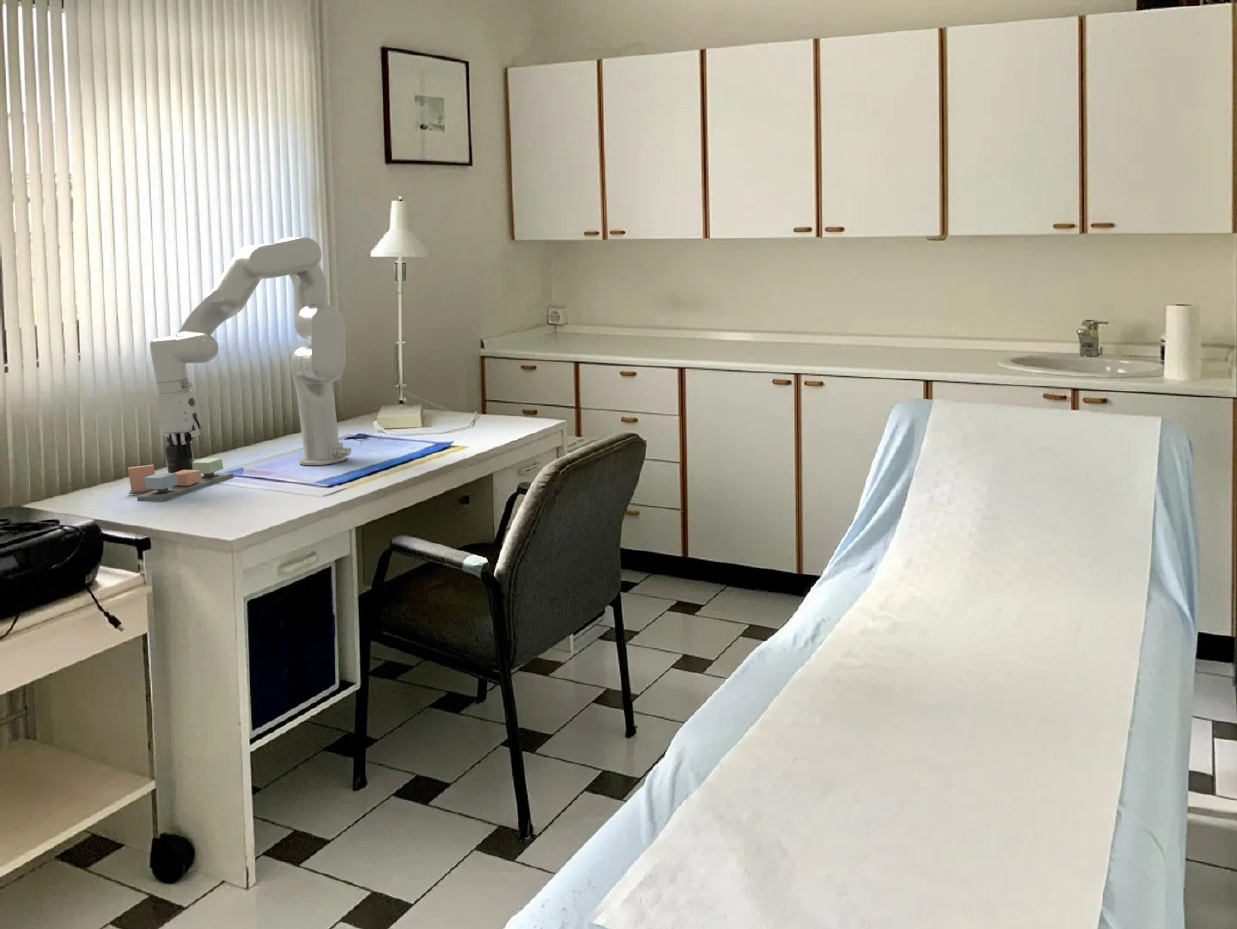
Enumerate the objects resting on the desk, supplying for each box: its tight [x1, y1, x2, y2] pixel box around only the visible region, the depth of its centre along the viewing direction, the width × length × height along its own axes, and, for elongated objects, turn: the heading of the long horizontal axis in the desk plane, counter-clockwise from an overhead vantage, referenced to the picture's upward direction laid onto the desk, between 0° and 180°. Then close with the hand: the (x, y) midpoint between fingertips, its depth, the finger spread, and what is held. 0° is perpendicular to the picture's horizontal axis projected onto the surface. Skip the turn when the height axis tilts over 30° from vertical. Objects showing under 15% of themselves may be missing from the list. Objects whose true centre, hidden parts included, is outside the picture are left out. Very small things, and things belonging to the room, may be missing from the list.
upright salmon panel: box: [127, 464, 157, 495], centre depth 293 cm, size 4×7×7 cm, turn 112°
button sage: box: [192, 457, 224, 476], centre depth 302 cm, size 5×5×4 cm
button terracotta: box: [175, 470, 202, 486], centre depth 295 cm, size 5×5×4 cm
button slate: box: [145, 472, 178, 492], centre depth 287 cm, size 5×5×4 cm
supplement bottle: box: [163, 437, 195, 473], centre depth 306 cm, size 7×7×12 cm
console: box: [136, 472, 235, 502], centre depth 295 cm, size 8×26×1 cm, turn 159°
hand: (185, 459), depth 294 cm, fingers closed
